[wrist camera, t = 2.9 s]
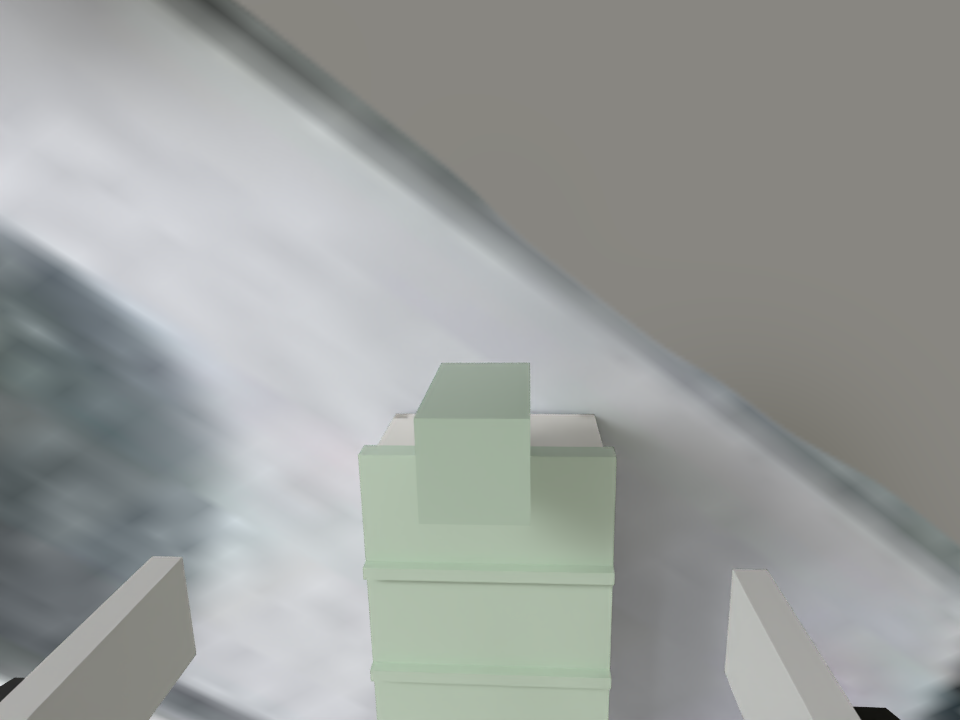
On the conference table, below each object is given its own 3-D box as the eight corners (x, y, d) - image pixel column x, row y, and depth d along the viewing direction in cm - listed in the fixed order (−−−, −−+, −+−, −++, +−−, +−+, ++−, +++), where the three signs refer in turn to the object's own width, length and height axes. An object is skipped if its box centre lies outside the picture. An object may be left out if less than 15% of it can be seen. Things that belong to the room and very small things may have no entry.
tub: (409, 658, 41) (389, 735, 35) (395, 413, 37) (371, 455, 31) (588, 663, 40) (598, 743, 35) (594, 414, 36) (606, 456, 31)
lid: (384, 742, 36) (348, 884, 28) (358, 363, 30) (305, 417, 23) (604, 751, 35) (623, 899, 27) (615, 362, 30) (643, 419, 22)
